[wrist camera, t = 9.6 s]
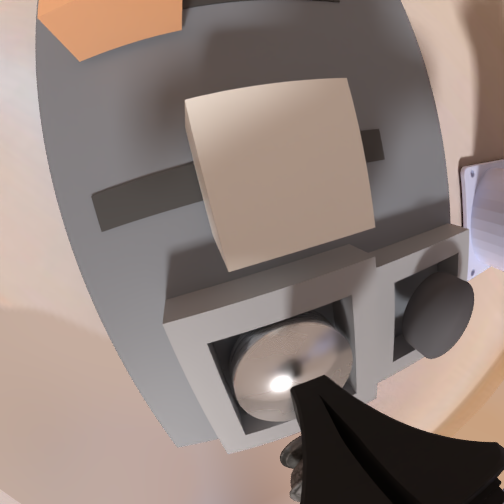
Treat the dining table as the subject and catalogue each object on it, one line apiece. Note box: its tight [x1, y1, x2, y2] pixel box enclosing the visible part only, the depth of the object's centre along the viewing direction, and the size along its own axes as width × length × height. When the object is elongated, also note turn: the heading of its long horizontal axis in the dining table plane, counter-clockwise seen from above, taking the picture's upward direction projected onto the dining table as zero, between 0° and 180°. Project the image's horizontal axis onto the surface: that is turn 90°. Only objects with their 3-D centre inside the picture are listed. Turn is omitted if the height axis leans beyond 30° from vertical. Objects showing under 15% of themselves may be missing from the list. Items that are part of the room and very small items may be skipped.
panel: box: [36, 0, 469, 454], centre depth 11 cm, size 18×26×4 cm
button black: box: [402, 271, 474, 359], centre depth 12 cm, size 4×4×1 cm
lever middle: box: [185, 78, 375, 272], centre depth 8 cm, size 4×4×4 cm
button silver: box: [229, 310, 353, 422], centre depth 11 cm, size 5×5×2 cm
